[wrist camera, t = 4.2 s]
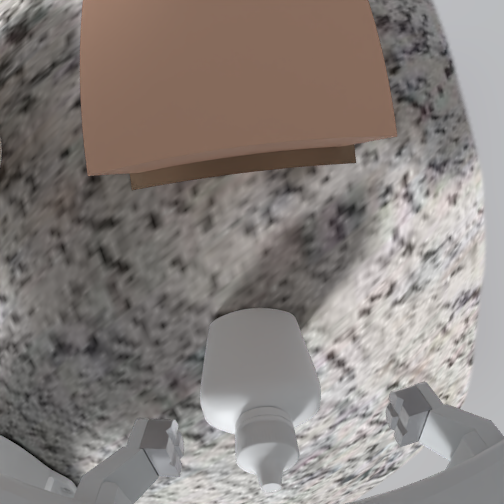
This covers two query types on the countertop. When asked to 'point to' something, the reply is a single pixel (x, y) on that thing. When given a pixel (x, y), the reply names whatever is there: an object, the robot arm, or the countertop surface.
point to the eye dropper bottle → (259, 388)
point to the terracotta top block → (227, 80)
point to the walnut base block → (244, 165)
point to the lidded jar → (0, 151)
